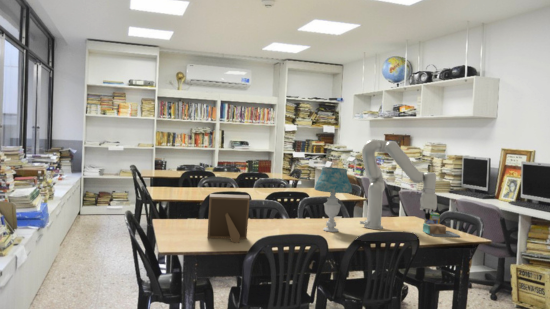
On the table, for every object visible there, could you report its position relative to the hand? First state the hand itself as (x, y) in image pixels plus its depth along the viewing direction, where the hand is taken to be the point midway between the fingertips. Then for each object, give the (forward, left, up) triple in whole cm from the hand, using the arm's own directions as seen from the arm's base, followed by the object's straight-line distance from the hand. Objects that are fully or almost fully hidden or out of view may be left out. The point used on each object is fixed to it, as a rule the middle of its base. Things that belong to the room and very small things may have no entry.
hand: (427, 219), depth 305 cm
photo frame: (-130, -35, -10) cm, 135 cm away
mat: (+10, 0, -10) cm, 14 cm away
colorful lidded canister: (+10, +15, -10) cm, 21 cm away
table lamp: (-64, 0, -10) cm, 65 cm away
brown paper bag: (-1, 0, -6) cm, 6 cm away
